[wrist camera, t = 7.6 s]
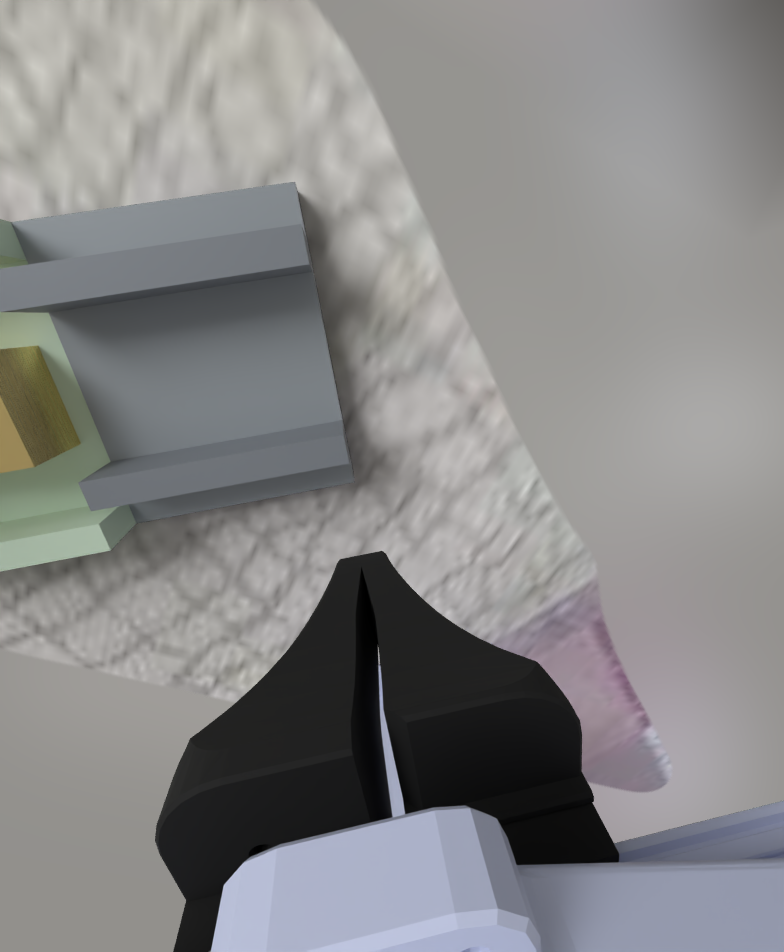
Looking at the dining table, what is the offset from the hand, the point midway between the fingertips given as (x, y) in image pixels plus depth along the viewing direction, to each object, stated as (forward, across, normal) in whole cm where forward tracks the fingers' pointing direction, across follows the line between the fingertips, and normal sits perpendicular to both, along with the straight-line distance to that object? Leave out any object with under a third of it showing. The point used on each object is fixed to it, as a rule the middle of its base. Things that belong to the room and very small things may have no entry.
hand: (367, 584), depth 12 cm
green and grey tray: (+9, +10, -6) cm, 15 cm away
